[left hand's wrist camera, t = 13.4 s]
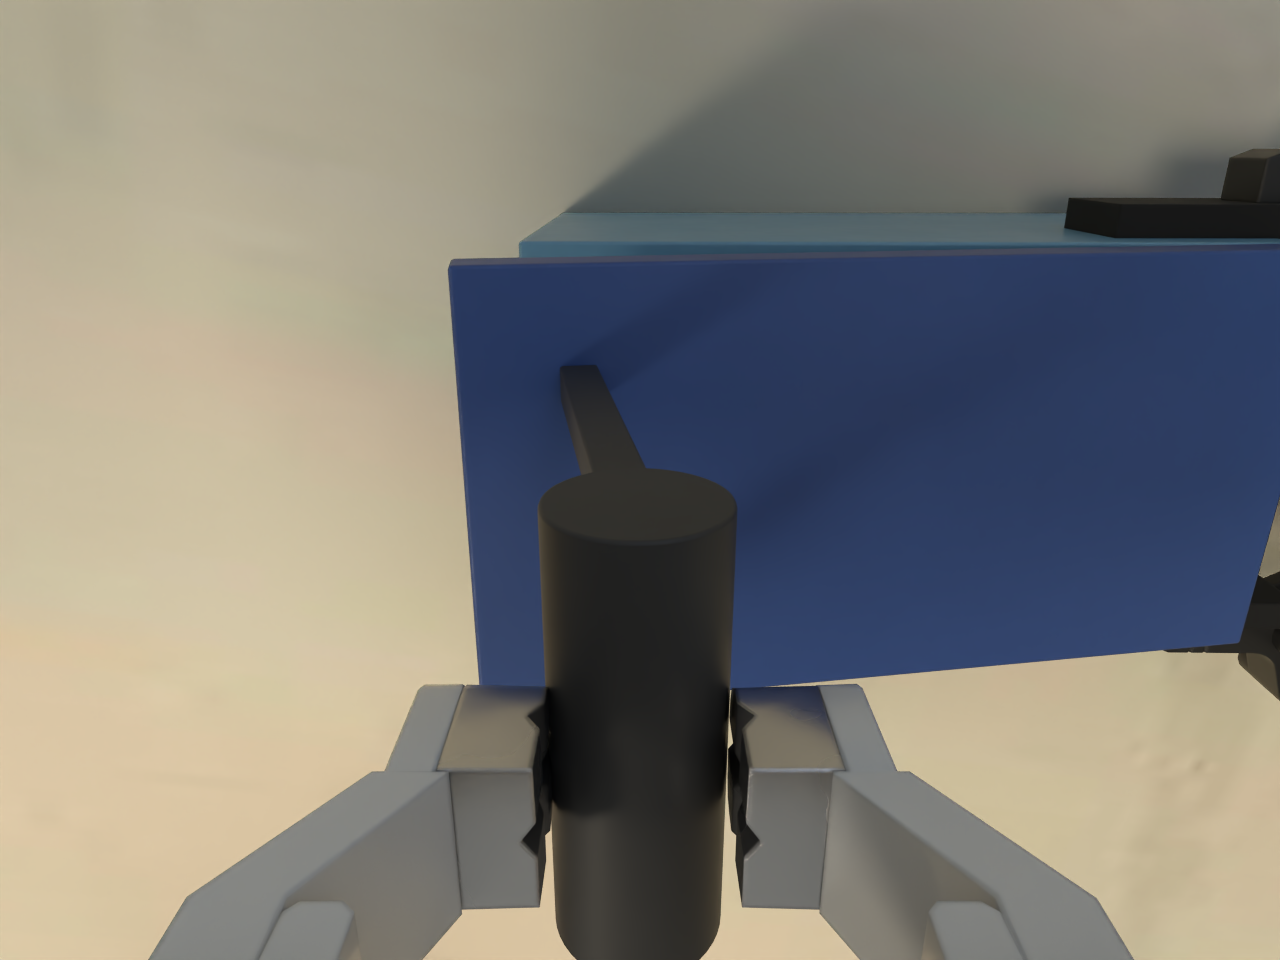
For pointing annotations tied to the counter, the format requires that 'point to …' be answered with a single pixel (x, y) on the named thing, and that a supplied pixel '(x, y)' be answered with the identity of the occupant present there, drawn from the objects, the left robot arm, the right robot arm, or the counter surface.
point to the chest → (818, 233)
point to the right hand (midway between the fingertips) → (1056, 418)
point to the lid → (835, 502)
